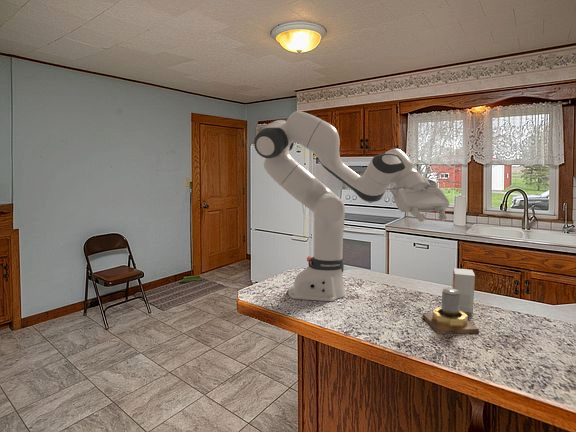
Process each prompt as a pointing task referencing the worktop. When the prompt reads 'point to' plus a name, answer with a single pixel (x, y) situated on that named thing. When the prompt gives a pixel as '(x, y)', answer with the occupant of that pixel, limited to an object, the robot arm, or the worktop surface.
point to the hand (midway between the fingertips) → (433, 220)
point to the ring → (449, 319)
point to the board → (445, 329)
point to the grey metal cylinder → (450, 303)
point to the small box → (464, 288)
